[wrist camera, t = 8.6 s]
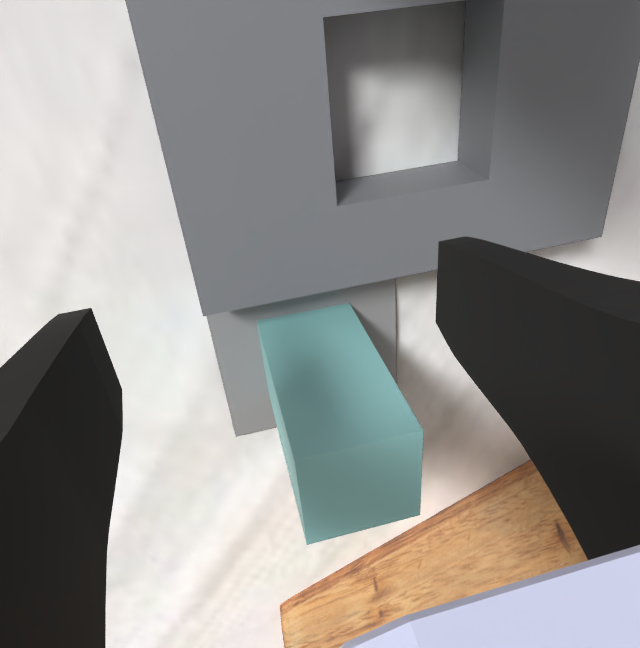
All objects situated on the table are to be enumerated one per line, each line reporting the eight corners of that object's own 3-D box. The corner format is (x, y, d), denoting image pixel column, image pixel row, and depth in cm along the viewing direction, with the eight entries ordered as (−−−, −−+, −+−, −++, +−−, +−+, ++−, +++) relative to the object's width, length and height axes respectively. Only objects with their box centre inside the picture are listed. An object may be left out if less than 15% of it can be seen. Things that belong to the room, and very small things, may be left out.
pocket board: (623, -141, 17) (686, -159, 15) (563, 214, 24) (601, 236, 22) (106, -99, 15) (97, -113, 13) (199, 284, 21) (203, 316, 19)
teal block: (349, 302, 23) (423, 430, 16) (353, 376, 25) (420, 514, 19) (256, 321, 22) (294, 461, 16) (268, 394, 24) (307, 544, 18)
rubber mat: (391, 247, 22) (394, 251, 22) (393, 393, 27) (396, 398, 27) (199, 284, 21) (200, 289, 21) (235, 431, 26) (235, 436, 25)
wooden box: (374, 680, 43) (449, 931, 32) (267, 598, 34) (319, 911, 22) (715, 496, 41) (929, 695, 29) (701, 354, 31) (1007, 565, 20)
